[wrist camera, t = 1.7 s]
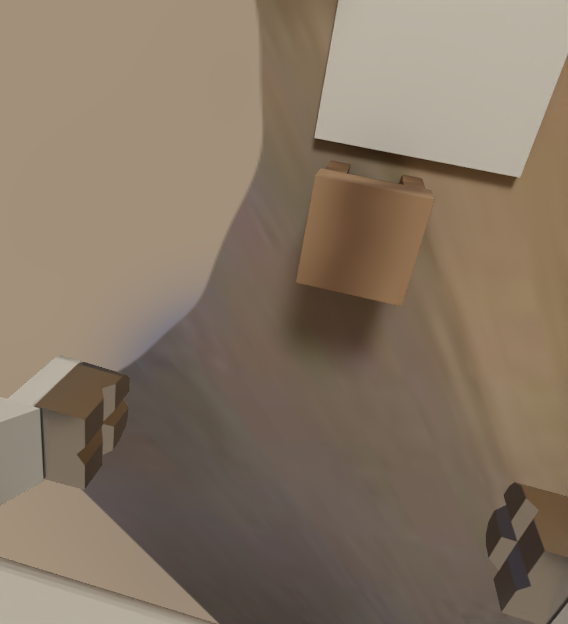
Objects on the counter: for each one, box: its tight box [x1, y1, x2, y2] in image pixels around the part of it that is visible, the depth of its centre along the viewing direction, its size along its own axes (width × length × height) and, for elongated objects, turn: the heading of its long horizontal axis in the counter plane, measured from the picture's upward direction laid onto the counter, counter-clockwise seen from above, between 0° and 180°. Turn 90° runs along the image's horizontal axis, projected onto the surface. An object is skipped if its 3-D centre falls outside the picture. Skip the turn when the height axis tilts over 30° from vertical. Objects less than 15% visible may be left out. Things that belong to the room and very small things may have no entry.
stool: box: [296, 161, 435, 306], centre depth 28 cm, size 6×6×6 cm
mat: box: [314, 0, 568, 178], centre depth 25 cm, size 12×12×1 cm
